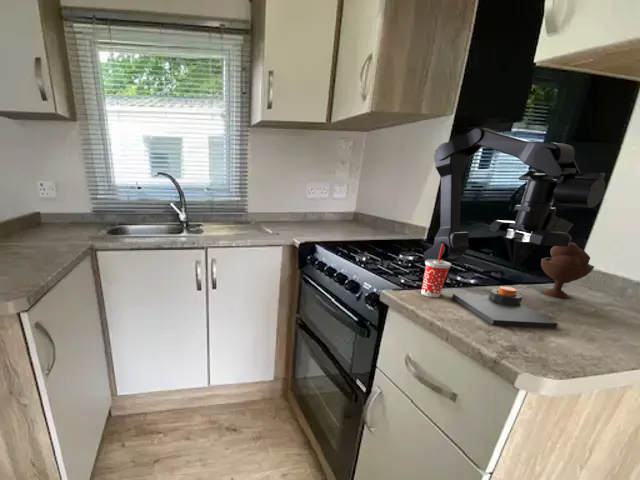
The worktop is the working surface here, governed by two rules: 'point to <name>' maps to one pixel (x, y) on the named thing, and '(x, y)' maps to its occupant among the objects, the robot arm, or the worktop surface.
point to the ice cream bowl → (565, 267)
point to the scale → (503, 310)
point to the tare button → (507, 291)
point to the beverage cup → (435, 276)
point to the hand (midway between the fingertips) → (514, 267)
